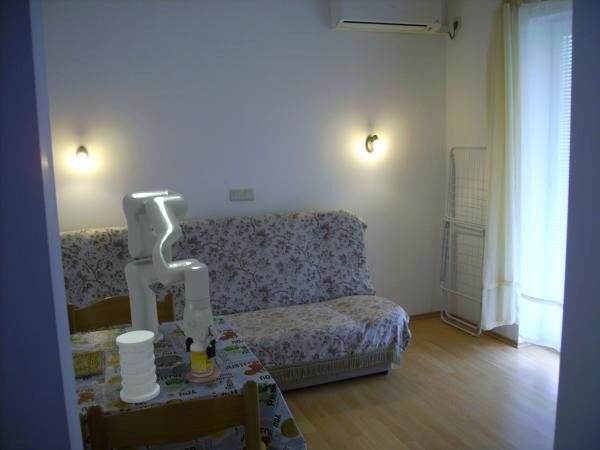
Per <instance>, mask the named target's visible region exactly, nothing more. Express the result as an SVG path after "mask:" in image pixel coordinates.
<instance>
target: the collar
mask: <svg viewBox="0 0 600 450" xmlns="http://www.w3.org/2000/svg"><path fill="white" fill-rule="evenodd" d="M168 363H175V364H174V365H173V366H163V367H159V366H161V365H163V364H168ZM154 364H155V367H156V370H155V374H156V377H165V376H166V377H168V376H175V375H177V374H179V373H181V372H184V371H186V370H187V368H188V356H187V355H183V354H180V353H169V354H168V353H166V354H161V355H159V356H158V355H157V356H155V361H154Z"/></svg>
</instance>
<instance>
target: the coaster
mask: <svg viewBox="0 0 600 450" xmlns="http://www.w3.org/2000/svg"><path fill="white" fill-rule="evenodd" d="M220 376H221V370H220V369H218V368H216V367H213V372H212V374H211V375H209V376H206V377H195V376H193V375H192V370H189V372H187V373H186V374H185V379H186V381H187V382H189V383H193V384H206V383H211V382H213V381H216V380H218V379H219V378H220Z"/></svg>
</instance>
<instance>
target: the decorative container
mask: <svg viewBox="0 0 600 450" xmlns="http://www.w3.org/2000/svg"><path fill="white" fill-rule="evenodd" d="M154 338H155V337H154V333H153V332H151V331H132V332H129V331H128V332H125V333H122V334H120V335H118V336H116V339H115V341H116V343H115V344H116V346H118V347H119V348H118V354H119V355H118V356H119V359H120V360H119V366H120V376H121V387H122V389H121V390H120V392H119V398H120V400H121V401H123V402H124V403H129V404H138V403H144V402H148V401H150V400H153V399H154V398H157V396H159V395H160V393H161V386H160V384H159V383H157V379H158V378H157V377H158V376H156V374H155V370H156V367H157V366H156V367H155V364H154V361H155V358H156V356H155V354H154V350H155V344H153V343H152V341H153V340H154Z"/></svg>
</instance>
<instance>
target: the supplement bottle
mask: <svg viewBox="0 0 600 450" xmlns="http://www.w3.org/2000/svg"><path fill="white" fill-rule="evenodd" d="M193 341H194V342H193V343H192V344H191V346H190V352H189V353H190V363H191V371H192V375H193V376H195V377H206V376H209V375H211V374H212V372H213V368H214V367H213V358H211V359H208V358H207V347H208V345H207V343H206V341H205V340H204V341H200V340H196V339H193Z"/></svg>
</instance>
